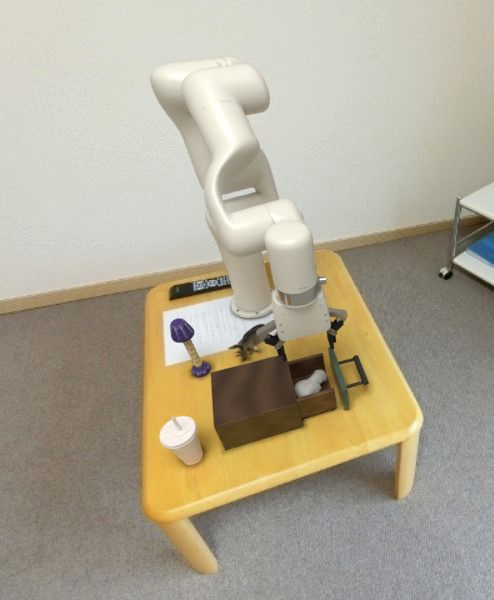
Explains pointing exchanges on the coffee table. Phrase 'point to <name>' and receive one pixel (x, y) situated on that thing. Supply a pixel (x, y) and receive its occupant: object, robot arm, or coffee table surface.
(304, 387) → the pale two-lobed sculpture
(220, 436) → the cabinet
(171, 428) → the smoothie
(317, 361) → the drawer
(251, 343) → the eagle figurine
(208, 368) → the toy lamp
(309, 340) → the coffee table surface
